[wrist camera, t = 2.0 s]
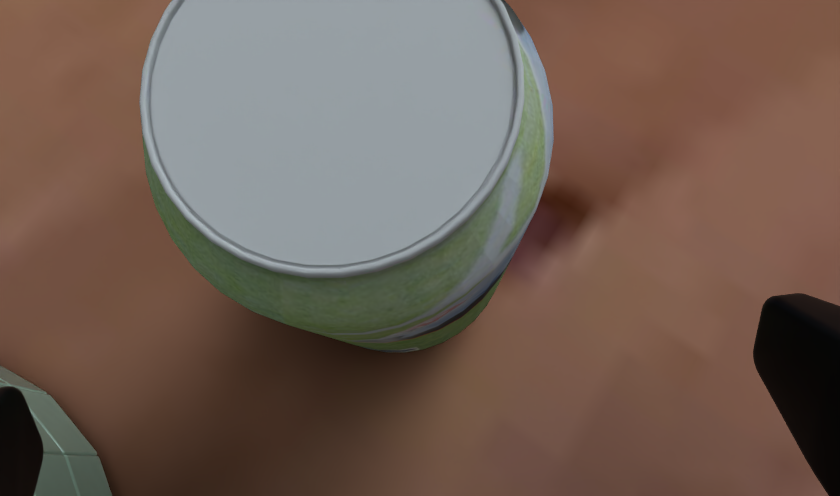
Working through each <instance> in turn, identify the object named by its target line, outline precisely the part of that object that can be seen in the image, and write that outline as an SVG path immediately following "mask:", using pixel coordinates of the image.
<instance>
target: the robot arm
mask: <svg viewBox="0 0 840 496" xmlns="http://www.w3.org/2000/svg"><path fill="white" fill-rule="evenodd" d="M753 358H754V363H755V366H756V369H757V371H758V373H759V375H760V377H761V379H762V380H763V382H764V384H765V386H766V388H767V389H768V391H769V393H770V395H771V397H772V399H773V400H774V402H775V404H776V406H777V408H778V410H779V411H780V413H781V415H782V417H783V419H784V421H785V422H786V424H787V426H788V428H789V430H790V431H791V433H792V435H793V437H794V439H795V441H796V442H797V444H798V446H799V448H800V450H801V452H802V453H803V455H804V457H805V459H806V460H807V462H808V464H809V465H810V467H811V469H812V470H813V472H814V474H815V475H816V477H817V478H818V480H819V481H820V483H821V484H822V486H823V488H824V489H825V491H826V492H827V494H828V495H829V496H840V306H838V305H835V304H832V303H829V302H826V301H823V300H820V299H818V298H815V297H812V296H809V295H806V294H800V293H796V294H788V295H779V296H772V297H770V298H769V299H767V300H766V301H765V303H764V304H763V307H762V311H761V316H760V321H759V325H758V330H757V335H756V339H755V344H754V350H753ZM43 453H44V450H43V442H42V438H41V435H40V433H39V431H38V428H37V426H36V423H35V421H34V419H33V416H32V414H31V411H30V409H29V407H28V404H27V402H26V400H25V397H24V395H23V394H22V392H21V391H20V390H19V389H18V388H15V387H13V386H6V387H0V496H34V493H35V489H36V485H37V481H38V477H39V473H40V469H41V465H42V461H43Z"/></svg>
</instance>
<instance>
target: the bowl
mask: <svg viewBox="0 0 840 496" xmlns="http://www.w3.org/2000/svg"><path fill="white" fill-rule="evenodd" d="M6 386H13V387H15V388H18V389H19V390H20V391H21V392H22V394H23V395H24V397H25V400H26V402H27V404H28V407H29V409H30V411H31V414H32V416H33V419H34V421H35V423H36V426H37V428H38V431H39V433H40V435H41V438H42V442H43V450H44V453H43V461H42V465H41V469H40V473H39V477H38V481H37V485H36V489H35V493H34V496H112V494H111V491H110V488H109V485H108V482H107V479H106V476H105V473H104V470H103V467H102V464H101V461H100V458H99V457H98V456H96V455H97V452H96V451H95V449H94V448H93V447H92V446H91V445H90V443H89V442H88V441H87V440H86V438H85V437H84V436H83V435H82V433H81V432H80V431H79V430H78V429H77V427H76V426H75V425H74V424H73V422H72V421H71V420H70V419H69V417H68V416H67V415H66V414H65V412H64V411H63V410H62V409H61V408H60V406H59V405H58V404H57V403H56V401H55V400H54V399H53V398H52V396H51V395H48V394H47V393H46V392H45V391H44V390H42V389H40V388H38V387H37V386H35V385H33V384H32V383H30V382H28V381H26V380H25V379H23V378H21V377H19V376H18V375H16V374H14V373H13V372H11V371H9V370H7V369H6V368H4V367H2V366H0V387H6Z"/></svg>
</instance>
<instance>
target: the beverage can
mask: <svg viewBox="0 0 840 496" xmlns="http://www.w3.org/2000/svg"><path fill="white" fill-rule="evenodd" d="M140 113H141V123H142V134H143V146H144V157H145V167H146V175H147V178H148V182H149V185H150V189H151V192H152V196H153V199H154V203H155V206H156V208H157V210H158V212H159V214H160V216H161V218H162V220H163V222H164V224H165V226H166V228H167V230H168V232H169V234H170V236H171V238H172V240H173V241H174V242H175V244H176V245H177V246H178V248H179V249H180V250H181V252H182V253H183V254H184V256H185V257H186V258H187V259H188V261H189V262H190V263H191V265H192V266H193V267H194V268H195V269H196V270H197V271H198V272H199V273H200V274H201V275H202V276H203V277H205V278H206V279H207V280H208V281H209V282H210V283H211V284H212V285H213V286H215V287H216V288H217V289H218V290H219V291H220V292H221V293H223V294H225V295H226V296H228V297H230V298H231V299H233V300H234V301H236V302H238V303H239V304H241V305H243V306H244V307H246V308H248V309H249V310H251V311H253V312H255V313H258V314H260V315H263V316H266V317H268V318H271V319H273V320H276V321H279V322H281V323H284V324H287V325H290V326H293V327H296V328H300V329H303V330H306V331H310V332H313V333H316V334H320V335H323V336H326V337H330V338H333V339H336V340H340V341H343V342H346V343H350V344H353V345H356V346H360V347H363V348H366V349H371V350H377V351H382V352H410V351H416V350H422V349H426V348H429V347H432V346H434V345H437V344H440V343H443V342H444V341H446V340H448V339H450V338H451V337H453V336H455V335H457V334H458V333H460V332H461V331H462V330H463V329H465V328H466V327H467V326H468V325H469V324H471V323H472V322H473V321H474V320H475V319H476V318H477V317H478V315H479V314H480V313H481V312H482V311H483V309H484V308H485V307H486V306H487V304H488V302H489V301H490V299H491V297H492V295H493V294H494V292H495V290H496V288H497V286H498V284H499V282H500V280H501V278H502V276H503V274H504V272H505V270H506V268H507V266H508V264H509V263H510V261H511V259H512V257H513V255H514V253H515V251H516V249H517V247H518V245H519V243H520V241H521V239H522V237H523V235H524V233H525V231H526V229H527V227H528V225H529V223H530V221H531V219H532V217H533V215H534V213H535V211H536V209H537V206H538V203H539V200H540V197H541V195H542V192H543V189H544V186H545V183H546V180H547V178H548V172H549V166H550V159H551V153H552V147H553V107H552V101H551V96H550V92H549V87H548V83H547V78H546V73H545V70H544V67H543V65H542V62H541V60H540V58H539V55H538V53H537V51H536V48H535V46H534V44H533V41H532V39H531V37H530V35H529V34H528V32H527V31H526V29H525V28H524V26H523V25H522V23H521V22H520V20H519V19H518V17H517V15H516V14H515V12H514V11H513V9H512V8H511V7H510V6H509V5H508V4H507V3H506V2H505V1H504V0H172V1H171V3H170V4H169V6H168V7H167V8H166V10H165V11H164V13H163V15H162V18H161V20H160V22H159V24H158V26H157V28H156V30H155V32H154V35H153V37H152V39H151V41H150V45H149V49H148V52H147V56H146V59H145V63H144V67H143V70H142V80H141V92H140Z"/></svg>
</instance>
